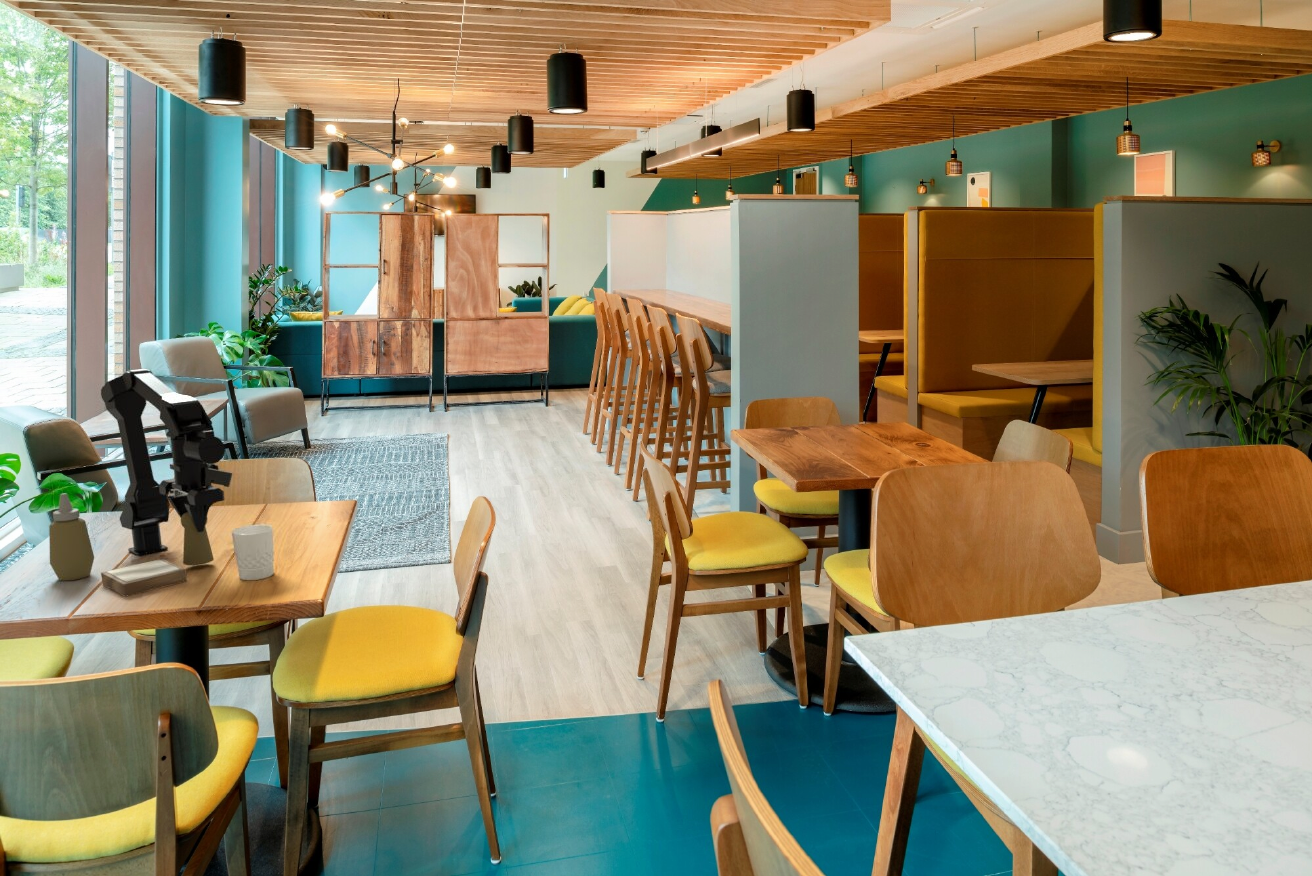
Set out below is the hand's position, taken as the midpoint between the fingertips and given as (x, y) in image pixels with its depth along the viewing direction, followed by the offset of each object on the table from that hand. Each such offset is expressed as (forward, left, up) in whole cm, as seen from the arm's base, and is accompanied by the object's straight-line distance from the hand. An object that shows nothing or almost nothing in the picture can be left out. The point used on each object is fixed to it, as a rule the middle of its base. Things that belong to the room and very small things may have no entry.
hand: (195, 529), depth 209 cm
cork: (0, 0, -7) cm, 7 cm away
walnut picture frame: (+2, -12, -8) cm, 15 cm away
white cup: (+16, +5, -8) cm, 19 cm away
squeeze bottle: (-14, -20, -8) cm, 26 cm away
